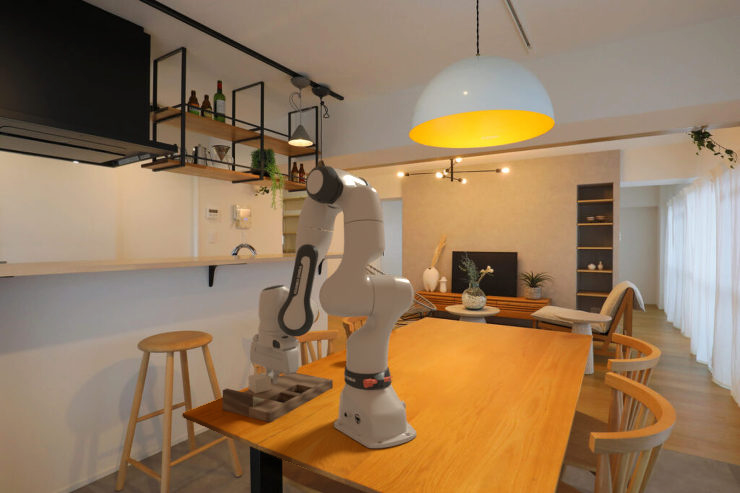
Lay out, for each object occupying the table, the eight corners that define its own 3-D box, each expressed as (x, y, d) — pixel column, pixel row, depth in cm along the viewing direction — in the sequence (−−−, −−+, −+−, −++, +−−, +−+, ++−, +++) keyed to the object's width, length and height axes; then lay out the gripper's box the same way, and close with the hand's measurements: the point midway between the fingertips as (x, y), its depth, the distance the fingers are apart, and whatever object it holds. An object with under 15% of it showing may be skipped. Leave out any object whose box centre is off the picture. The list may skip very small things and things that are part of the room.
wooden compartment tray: (290, 378, 143) (290, 363, 143) (332, 387, 135) (332, 370, 135) (222, 409, 116) (222, 390, 116) (270, 422, 108) (270, 401, 108)
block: (263, 385, 129) (263, 372, 129) (271, 389, 125) (271, 376, 125) (248, 388, 126) (248, 375, 126) (255, 393, 122) (255, 380, 122)
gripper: (245, 334, 131) (244, 377, 131) (285, 345, 118) (285, 393, 118) (261, 331, 136) (261, 373, 136) (302, 341, 123) (302, 387, 123)
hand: (272, 382), depth 127 cm, fingers closed
